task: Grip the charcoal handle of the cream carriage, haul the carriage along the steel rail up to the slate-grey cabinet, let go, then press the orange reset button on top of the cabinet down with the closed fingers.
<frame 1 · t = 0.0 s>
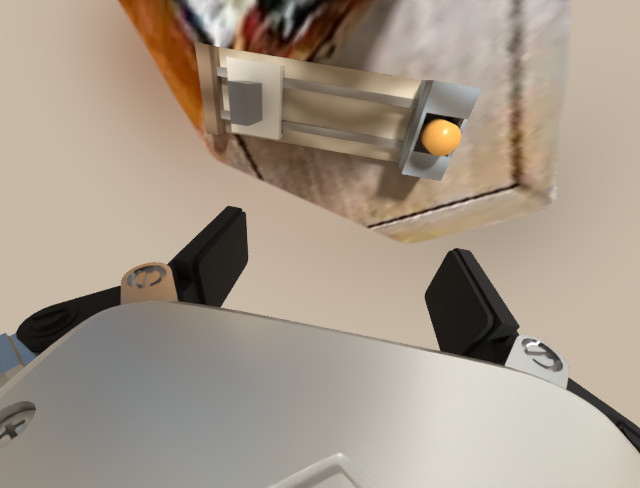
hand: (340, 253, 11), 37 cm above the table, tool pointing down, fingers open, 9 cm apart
reset button: (438, 136, 33), point 8 cm above the table, slide at 0.0 cm
carriage: (250, 102, 35), point 6 cm above the table, slide at -11.0 cm
rail bed: (327, 110, 40), on the table
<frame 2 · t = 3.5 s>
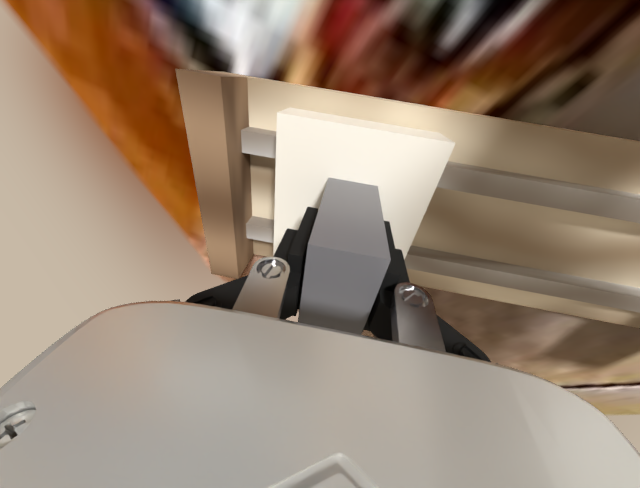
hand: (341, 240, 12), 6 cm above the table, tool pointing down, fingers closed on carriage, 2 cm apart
carriage: (341, 241, 12), point 6 cm above the table, slide at -11.0 cm, touching gripper
rail bed: (501, 221, 17), on the table
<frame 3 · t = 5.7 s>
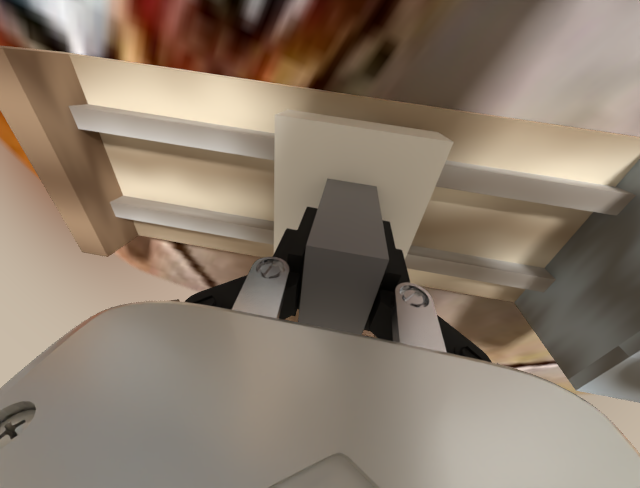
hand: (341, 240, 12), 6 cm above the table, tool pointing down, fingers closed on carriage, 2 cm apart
carriage: (341, 242, 12), point 6 cm above the table, slide at -1.0 cm, touching gripper
rail bed: (360, 196, 17), on the table
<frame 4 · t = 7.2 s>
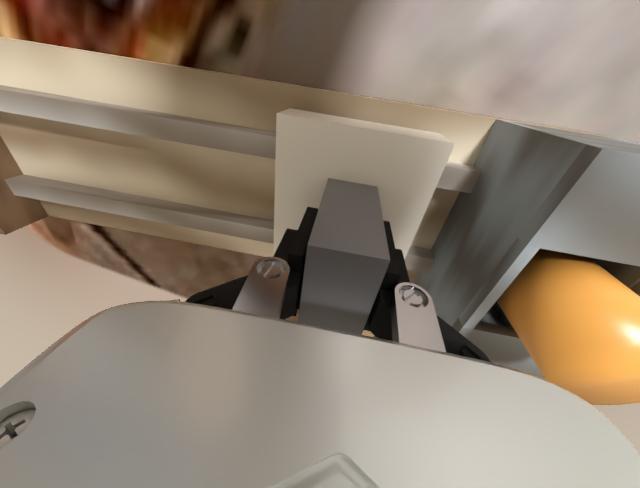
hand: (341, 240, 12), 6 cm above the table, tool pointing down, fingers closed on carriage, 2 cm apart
reset button: (568, 314, 10), point 9 cm above the table, slide at 0.0 cm
carriage: (341, 241, 12), point 6 cm above the table, slide at 6.9 cm, touching gripper
rail bed: (253, 177, 17), on the table
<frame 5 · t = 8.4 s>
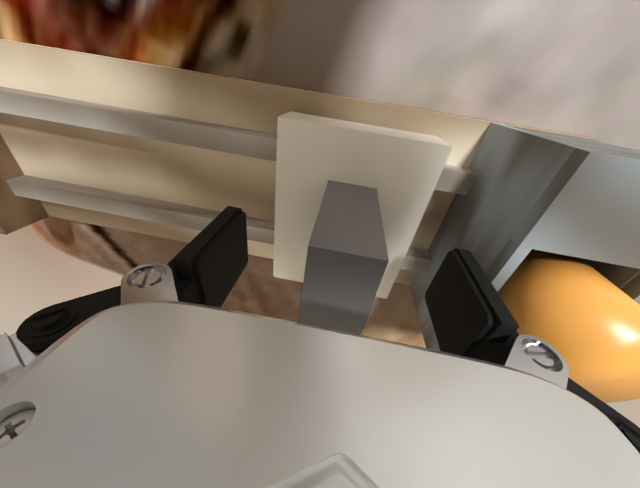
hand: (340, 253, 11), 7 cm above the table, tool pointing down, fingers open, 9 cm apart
reset button: (561, 314, 10), point 9 cm above the table, slide at 0.0 cm
carriage: (341, 242, 12), point 6 cm above the table, slide at 7.0 cm
rail bed: (252, 178, 18), on the table
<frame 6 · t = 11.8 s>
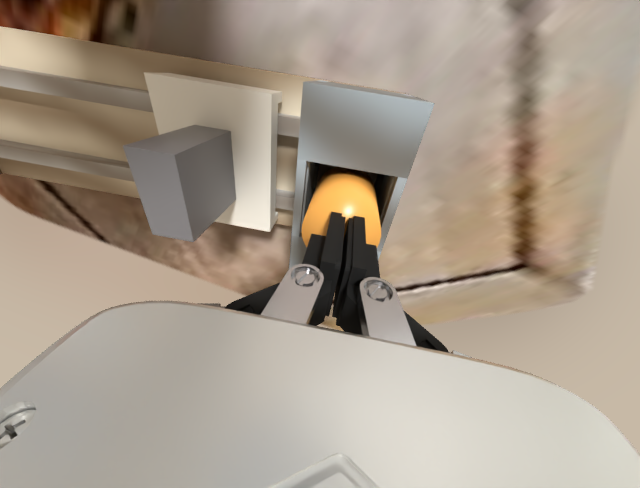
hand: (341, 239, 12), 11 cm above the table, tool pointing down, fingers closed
reset button: (343, 212, 14), point 8 cm above the table, slide at 0.3 cm, touching gripper
carriage: (204, 172, 16), point 6 cm above the table, slide at 7.0 cm
rail bed: (165, 136, 21), on the table
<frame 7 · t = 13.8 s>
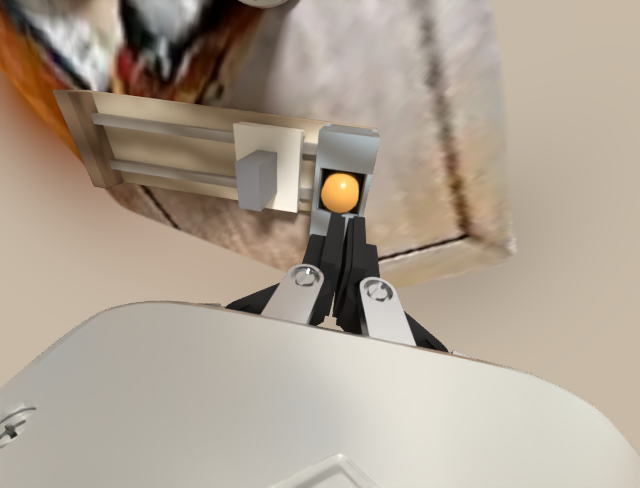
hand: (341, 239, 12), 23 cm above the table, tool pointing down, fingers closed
reset button: (341, 187, 28), point 6 cm above the table, slide at 2.2 cm
carriage: (262, 176, 28), point 6 cm above the table, slide at 7.0 cm
rail bed: (230, 156, 34), on the table
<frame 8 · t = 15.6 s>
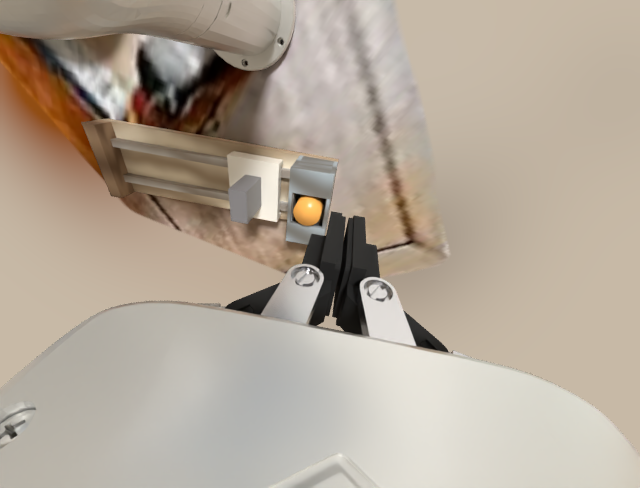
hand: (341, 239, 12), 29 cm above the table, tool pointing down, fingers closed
reset button: (309, 206, 37), point 6 cm above the table, slide at 2.2 cm
carriage: (249, 195, 37), point 6 cm above the table, slide at 7.0 cm
rail bed: (224, 174, 42), on the table
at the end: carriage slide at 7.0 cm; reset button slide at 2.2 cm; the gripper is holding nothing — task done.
